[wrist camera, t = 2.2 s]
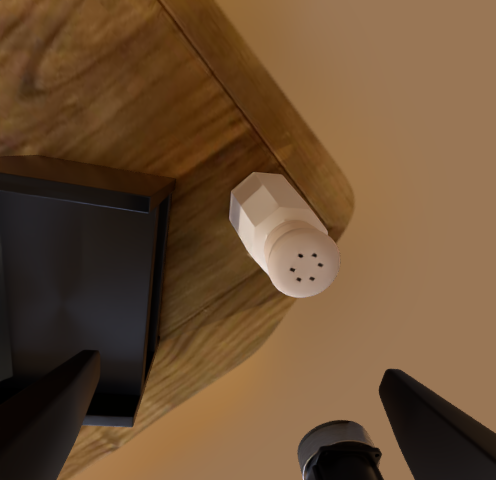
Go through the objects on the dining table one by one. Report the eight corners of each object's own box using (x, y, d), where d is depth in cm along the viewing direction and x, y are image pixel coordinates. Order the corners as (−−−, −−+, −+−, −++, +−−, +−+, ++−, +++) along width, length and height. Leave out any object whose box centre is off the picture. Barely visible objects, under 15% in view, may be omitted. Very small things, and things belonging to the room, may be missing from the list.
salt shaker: (248, 156, 19) (279, 165, 9) (312, 191, 21) (405, 235, 10) (214, 223, 21) (208, 299, 10) (276, 252, 22) (327, 347, 12)
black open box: (176, 178, 19) (150, 196, 12) (159, 343, 24) (132, 427, 17) (36, 154, 18) (-82, 159, 11) (44, 333, 22) (-38, 420, 15)
